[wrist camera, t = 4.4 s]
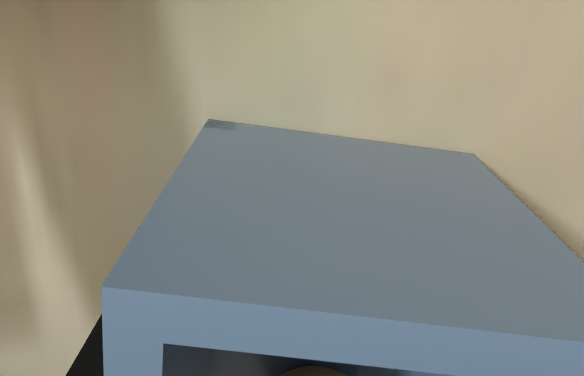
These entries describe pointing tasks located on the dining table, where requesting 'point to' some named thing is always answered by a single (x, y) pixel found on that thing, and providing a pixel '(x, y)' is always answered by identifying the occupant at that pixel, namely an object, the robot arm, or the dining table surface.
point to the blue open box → (340, 266)
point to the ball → (313, 371)
